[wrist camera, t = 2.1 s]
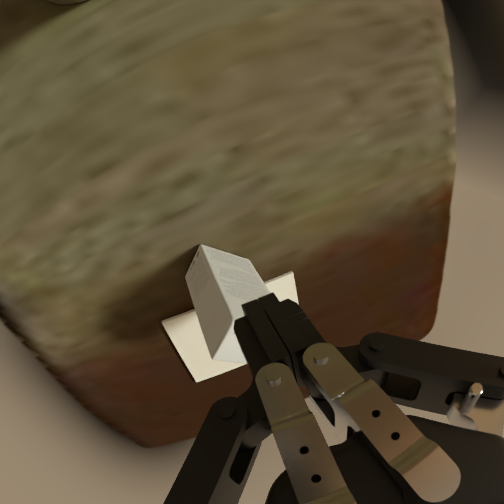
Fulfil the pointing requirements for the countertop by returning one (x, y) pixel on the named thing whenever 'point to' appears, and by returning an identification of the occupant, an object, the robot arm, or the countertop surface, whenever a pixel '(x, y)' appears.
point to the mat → (192, 340)
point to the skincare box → (222, 298)
